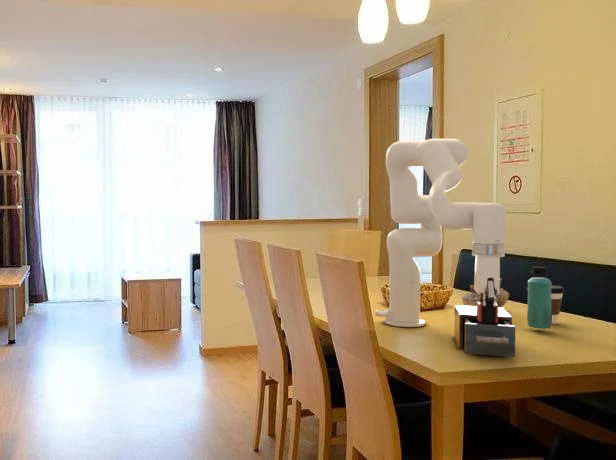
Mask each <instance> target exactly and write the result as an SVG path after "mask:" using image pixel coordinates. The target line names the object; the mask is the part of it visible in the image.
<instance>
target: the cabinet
mask: <svg viewBox="0 0 616 460" xmlns="http://www.w3.org/2000/svg"><path fill="white" fill-rule="evenodd" d="M476 316H477V306H464V305H454V329H453V330H454V332H453V333H454V334H453V335H454V336H453V337H454V340H455V342H456V343H455V344H456V345H457V347H458V350H461V351H463V350H464V351H465V345H464V343H463V317H465V318H476ZM498 319H504V320H506V321H507V322H508V323H509V324H510V325H513V317H512V316H511V314H510V313H509V312H507V310H505V308H504V307H502V308H499V307H498Z"/></svg>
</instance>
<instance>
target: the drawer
mask: <svg viewBox="0 0 616 460" xmlns="http://www.w3.org/2000/svg"><path fill="white" fill-rule="evenodd" d="M463 343H464V345H465V350H464V354H465V355H480V356H490V357H491V356H492V357H506V358H507V357H509V358H515V357H516V326H515V325H513V324H512V325H510V324H509V323H508V322H507V321H506V320H504V319H498V323H492V322H479V321H478V320H477V318H465V317H463Z"/></svg>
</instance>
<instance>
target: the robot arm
mask: <svg viewBox="0 0 616 460" xmlns="http://www.w3.org/2000/svg"><path fill="white" fill-rule="evenodd" d="M468 156H469V150H468V147H467V146H466V144H465V143H464V141H462V140H460V139H458V138H429V139H426V140H415V139H414V140H411V139H409V140H399V141H396V142H393V143H392V144H391V145H390V146H389V147H388V149H387V150H386V154H385V168H386V172H387V175H388V181H389V192H390V193H389V197H390V200H389V202H390V217H391V219H392V221H393V222H394V223H396V224H399V225H400V224H401V225H420V227H400V228H396V229H393V230H391V231H390V232H389V233H388V235H387V236H386V249H387V254H388V261H389V263H388V264H389V304H388V305H389V307H388V309H385V310H380V309H375V312H374V314H375V315H374V316H376V317H379V318H381V317H382V318H384V324H386V325H389V326H393V327H400V328H419V327H420V328H421V327H423V326H425V325H426V321H425V320H424V319H422V318H421V270H420V267H419V265H418V263H417V262H416V260H415V258H425V257H426V258H428V257H434V256H438V254H439V253H440V252H441V250H442V245H443V229H444V230H445V229H446V230H447V231H448V230H449V231H460V230H463V231H465V230H466V231H467V230H468V231H472V239H471V240H472V241H471V242H472V245H471V249H472V250H471V256H472V257H475V261H474V262H475V263H474V281H473V285H474V290H475V291H476V292H477V293H478V294H479V295H480V302H483V306H482V322H496V307H495V295H498V294H499V284H500V278H501V258H504V257H505V254H506V250H505V249H506V207H505V204H503V203H501V202H481V201H451V200H450V199H449V197H448V196H447V194H446V193H447V192H449V191H451V190H453V189H455V188H456V187H457V186H458V185H460V183H461V182H462V180H463V178H464V173H463V170H462V169H461V166H463V165H464V164H465V163H466V162H467V160H468ZM410 168H423V170H424V172H425V173H426V174H427V176H428V178H429V180H430V182H431V183H432V186H431V187H430V189H429V194H419V193H418V191H419V190H418V181H417V177H416V176H415V174H414V173H413V171H412V170H411V169H410Z"/></svg>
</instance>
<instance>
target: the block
mask: <svg viewBox="0 0 616 460" xmlns="http://www.w3.org/2000/svg"><path fill="white" fill-rule="evenodd" d="M482 306H483V302H477V316H476V318H477V320H478V321H479V322H482ZM495 307H496V322H492V323H498V305H497V304H496V303H495Z"/></svg>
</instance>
